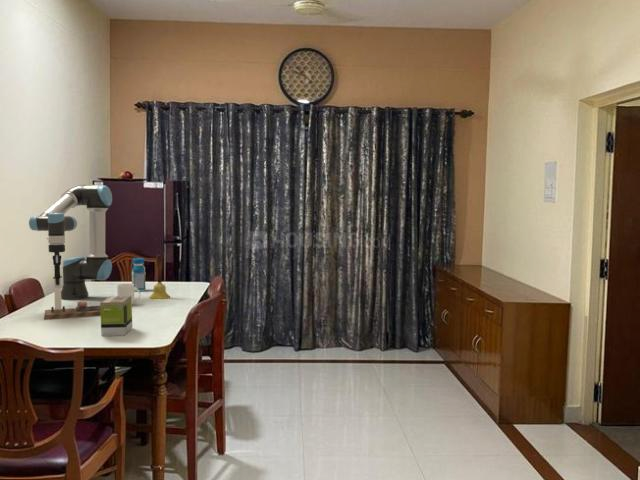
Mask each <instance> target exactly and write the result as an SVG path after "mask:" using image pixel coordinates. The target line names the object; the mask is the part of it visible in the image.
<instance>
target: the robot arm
mask: <svg viewBox="0 0 640 480" xmlns="http://www.w3.org/2000/svg"><path fill="white" fill-rule="evenodd" d="M112 204H113V194H112V190H111V189H110V187H108V186H107V185H103V184H80V185H76V186H73V187H71V188H69V189H67V190H66V191H64V192H63V193H62V194H61V196H60V198H58V199H57V201H55V202H54V203H53V204H52V205H50V206H49V207H48V208H47V209H46V210H44V211H43V212H42V213H40V215H33V216H31V217H30V218H29V220H28V227H29V229H30V230H31V231H37V232H41V231H45V232H47V233H48V234H47V235H48V237H47V238H46V240H48V253H53V254H54V255H52V260H53V261H52V263H53V267H54V269H53V270H54V276H53V277H52V279H53V280H54V288H61V300H83V299H87V298H89V292H88V288H87V285H86V280H89V281H90V280H92V281H94V280H95V281H96V280H97V281H103V280H107V279H108V278H109V277H110V275H111V273H112V270H113V264H112V261H111V259H109V256H108V255H107V254H106V213H107V210H109V207H110V206H111V205H112ZM77 206H78V207H79V206H86V209H87V211H88V212H89V213H88V215H89V222H88V223H89V225H88V226H89V229H88V231H89V233H88V234H89V235H88V236H89V239H88V241H89V245H88V247H89V248H88V249H89V252H88V254H87V255H86V256H77V257H69V258H65V259H63V261H62V255H60V253H65V252H66V234H65V232H71V231H74V230H75V229H76V228H77V226H78V221H77V219H76V218H75V217H74V216H71V215H66V216H65V214H66V213H67V212H68V211H69V210H71V209H74V208H75V207H77ZM61 263H62V264H61ZM61 265H62V276H61ZM61 278H62V282H63V283H62V284H61ZM61 285H62V286H61Z"/></svg>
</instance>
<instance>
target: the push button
mask: <svg viewBox="0 0 640 480" xmlns="http://www.w3.org/2000/svg"><path fill="white" fill-rule="evenodd" d="M78 306H88V302H87V301H79V302H78V301H77V306H76V307H78Z"/></svg>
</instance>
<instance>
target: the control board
mask: <svg viewBox="0 0 640 480" xmlns="http://www.w3.org/2000/svg"><path fill="white" fill-rule="evenodd" d="M61 309H62V310H55V306H51V307H50V309H45V310H44V317H43V318H44V320H54V319H55V320H56V319H57V320H58V319H70V318H85V317H86V318H87V317H101V311H100V305H87V306H76V307H73V308H66V307H65V306H64V305H62V308H61Z"/></svg>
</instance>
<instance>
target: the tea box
mask: <svg viewBox="0 0 640 480" xmlns="http://www.w3.org/2000/svg"><path fill="white" fill-rule="evenodd" d="M99 306H100V311H101V316H100V333H101V337H123V336H124V337H125V336H126V334H128V332H130V331H131V330H132V329H133V307H132V301H131V296H116V295H115V296H111V295H110V296H108V297H107V298H105V299H104V300H102V301H101V302H100V303H99Z"/></svg>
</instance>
